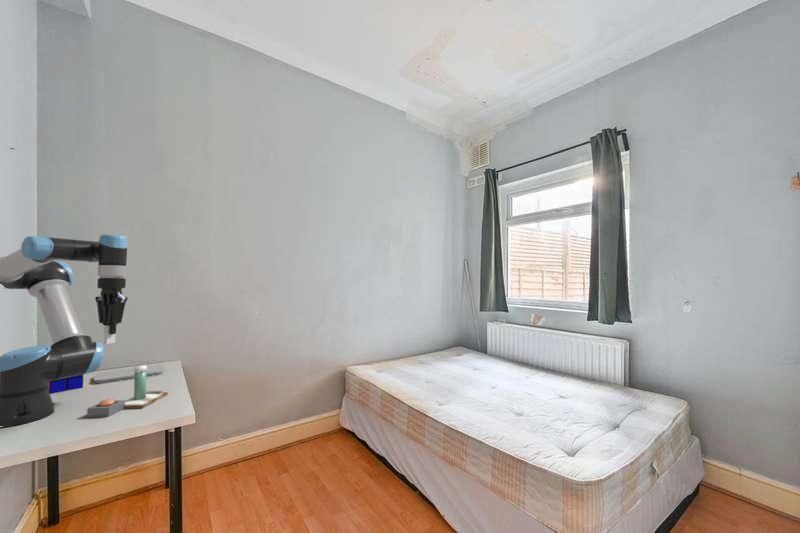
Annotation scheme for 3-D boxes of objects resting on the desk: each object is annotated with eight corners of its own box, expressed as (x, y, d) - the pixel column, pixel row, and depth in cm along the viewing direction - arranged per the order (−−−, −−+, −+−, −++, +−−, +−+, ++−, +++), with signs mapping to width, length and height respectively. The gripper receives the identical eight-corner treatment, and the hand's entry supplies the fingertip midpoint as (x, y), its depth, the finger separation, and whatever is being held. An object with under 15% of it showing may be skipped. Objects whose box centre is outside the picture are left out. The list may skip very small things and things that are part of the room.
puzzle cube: (49, 394, 131) (50, 369, 132) (46, 389, 137) (47, 365, 138) (83, 387, 139) (84, 364, 140) (78, 383, 145) (79, 361, 146)
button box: (108, 416, 109) (109, 407, 110) (87, 417, 109) (87, 408, 109) (124, 408, 116) (125, 400, 117) (104, 408, 116) (105, 400, 116)
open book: (142, 408, 116) (142, 403, 116) (113, 409, 116) (113, 404, 116) (167, 394, 130) (168, 390, 130) (142, 395, 130) (142, 390, 130)
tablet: (164, 375, 159) (165, 370, 159) (92, 386, 142) (93, 381, 142) (162, 368, 171) (162, 363, 172) (96, 377, 155) (96, 372, 155)
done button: (108, 407, 111) (108, 403, 111) (96, 407, 111) (96, 403, 111) (117, 403, 115) (117, 398, 115) (105, 403, 115) (106, 399, 115)
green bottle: (141, 400, 121) (142, 367, 122) (130, 400, 121) (131, 368, 122) (148, 396, 125) (149, 365, 126) (138, 396, 125) (139, 365, 125)
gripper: (136, 277, 117) (133, 342, 116) (111, 277, 120) (108, 340, 119) (112, 277, 109) (110, 346, 108) (87, 277, 113) (84, 344, 112)
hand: (109, 343), depth 114 cm, fingers closed
